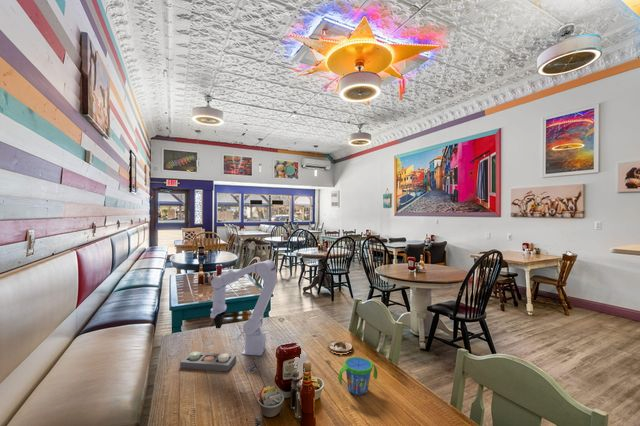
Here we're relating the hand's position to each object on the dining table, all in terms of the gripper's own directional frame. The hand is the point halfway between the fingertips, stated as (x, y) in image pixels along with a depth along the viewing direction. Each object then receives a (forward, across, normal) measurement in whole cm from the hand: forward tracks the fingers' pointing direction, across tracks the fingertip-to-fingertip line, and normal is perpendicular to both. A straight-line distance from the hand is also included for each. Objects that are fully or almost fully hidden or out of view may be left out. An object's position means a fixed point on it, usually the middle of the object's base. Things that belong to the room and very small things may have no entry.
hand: (218, 327), depth 143 cm
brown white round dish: (+10, -6, +60) cm, 61 cm away
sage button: (+8, +16, -4) cm, 18 cm away
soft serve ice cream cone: (+10, +27, +43) cm, 52 cm away
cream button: (+8, +16, +10) cm, 20 cm away
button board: (+9, +16, +3) cm, 19 cm away
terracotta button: (+9, +16, +3) cm, 19 cm away
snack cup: (+10, +27, +67) cm, 73 cm away
